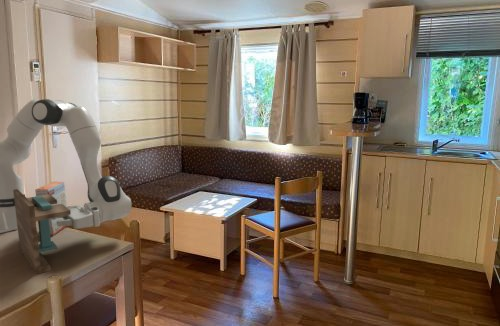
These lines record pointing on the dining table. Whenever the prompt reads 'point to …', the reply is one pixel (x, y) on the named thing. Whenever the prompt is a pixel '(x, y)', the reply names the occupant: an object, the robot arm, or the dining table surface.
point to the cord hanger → (44, 226)
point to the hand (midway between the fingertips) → (53, 220)
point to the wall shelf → (34, 227)
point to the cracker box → (59, 194)
